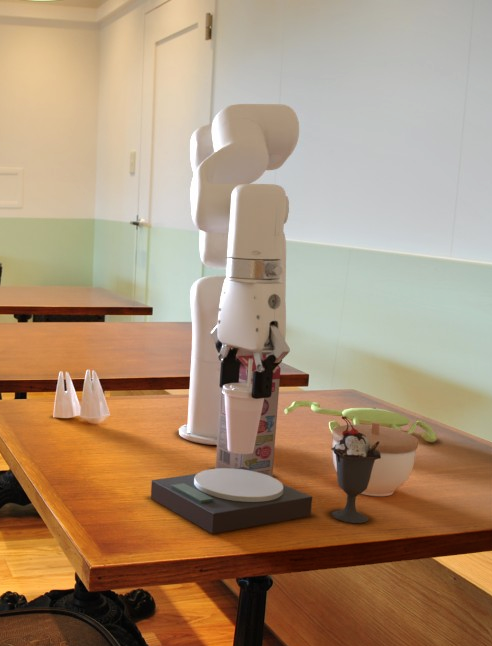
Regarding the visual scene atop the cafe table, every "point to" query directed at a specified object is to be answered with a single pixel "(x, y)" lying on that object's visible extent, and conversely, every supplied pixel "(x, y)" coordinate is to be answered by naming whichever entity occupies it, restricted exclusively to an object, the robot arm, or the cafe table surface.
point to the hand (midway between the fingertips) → (244, 391)
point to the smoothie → (242, 415)
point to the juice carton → (266, 431)
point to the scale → (230, 499)
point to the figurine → (367, 418)
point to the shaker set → (91, 403)
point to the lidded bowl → (385, 456)
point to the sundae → (353, 470)
